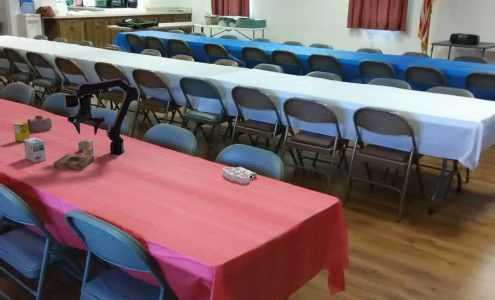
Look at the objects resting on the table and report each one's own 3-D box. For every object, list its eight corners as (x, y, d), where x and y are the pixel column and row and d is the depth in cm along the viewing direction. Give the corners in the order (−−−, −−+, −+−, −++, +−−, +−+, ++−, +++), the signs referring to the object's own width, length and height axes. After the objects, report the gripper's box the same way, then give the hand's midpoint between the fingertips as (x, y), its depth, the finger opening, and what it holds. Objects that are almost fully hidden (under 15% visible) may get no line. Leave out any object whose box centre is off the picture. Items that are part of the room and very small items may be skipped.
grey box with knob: (48, 127, 346) (46, 113, 343) (53, 130, 340) (51, 115, 337) (27, 131, 337) (25, 115, 334) (31, 133, 331) (30, 118, 328)
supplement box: (30, 140, 316) (28, 123, 313) (21, 143, 312) (19, 125, 308) (24, 139, 319) (22, 121, 316) (15, 141, 315) (13, 123, 311)
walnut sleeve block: (94, 160, 283) (93, 155, 282) (82, 170, 269) (81, 164, 268) (67, 159, 285) (67, 153, 284) (54, 168, 271) (53, 162, 270)
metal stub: (88, 149, 302) (88, 141, 301) (85, 151, 298) (85, 143, 297) (82, 149, 303) (81, 140, 301) (78, 151, 299) (78, 142, 297)
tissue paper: (261, 180, 262) (238, 186, 253) (238, 170, 275) (215, 175, 266) (261, 173, 261) (238, 179, 252) (238, 164, 274) (216, 169, 265)
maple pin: (93, 155, 293) (92, 139, 290) (90, 157, 289) (89, 141, 286) (86, 154, 293) (85, 139, 290) (83, 156, 289) (82, 141, 287)
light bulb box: (46, 160, 283) (44, 140, 280) (34, 162, 278) (32, 143, 275) (37, 155, 290) (35, 136, 287) (25, 158, 285) (23, 139, 282)
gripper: (61, 108, 276) (64, 137, 281) (95, 110, 274) (97, 139, 279) (71, 104, 287) (73, 131, 292) (104, 105, 284) (105, 133, 289)
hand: (87, 134), depth 287 cm, fingers open, 9 cm apart
